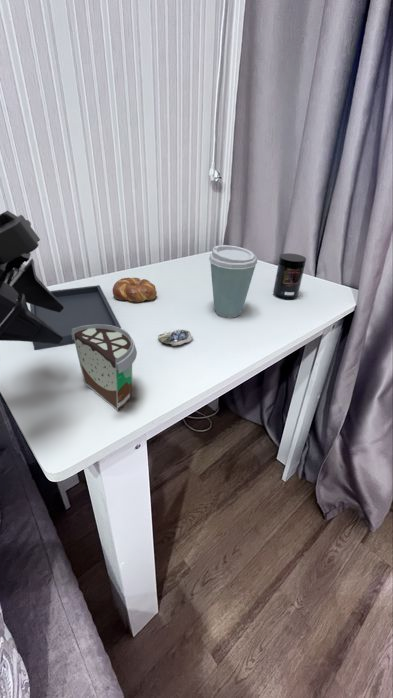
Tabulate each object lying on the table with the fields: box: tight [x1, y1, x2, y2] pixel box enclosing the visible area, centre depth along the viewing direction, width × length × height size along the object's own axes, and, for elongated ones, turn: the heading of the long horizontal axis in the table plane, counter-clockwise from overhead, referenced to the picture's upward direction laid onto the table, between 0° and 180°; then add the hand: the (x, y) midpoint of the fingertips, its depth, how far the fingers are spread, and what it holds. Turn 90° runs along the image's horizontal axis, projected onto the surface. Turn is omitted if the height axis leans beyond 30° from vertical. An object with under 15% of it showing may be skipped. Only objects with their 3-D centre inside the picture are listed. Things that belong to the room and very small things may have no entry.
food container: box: [72, 324, 138, 412], centre depth 52 cm, size 12×6×10 cm, turn 47°
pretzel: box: [112, 277, 158, 303], centre depth 85 cm, size 12×11×4 cm
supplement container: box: [272, 252, 307, 300], centre depth 87 cm, size 7×7×10 cm
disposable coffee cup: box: [208, 244, 258, 319], centre depth 76 cm, size 11×11×15 cm
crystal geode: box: [157, 329, 194, 347], centre depth 68 cm, size 7×8×2 cm
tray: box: [29, 284, 122, 351], centre depth 74 cm, size 17×24×2 cm
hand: (61, 324), depth 46 cm, fingers open, 9 cm apart
